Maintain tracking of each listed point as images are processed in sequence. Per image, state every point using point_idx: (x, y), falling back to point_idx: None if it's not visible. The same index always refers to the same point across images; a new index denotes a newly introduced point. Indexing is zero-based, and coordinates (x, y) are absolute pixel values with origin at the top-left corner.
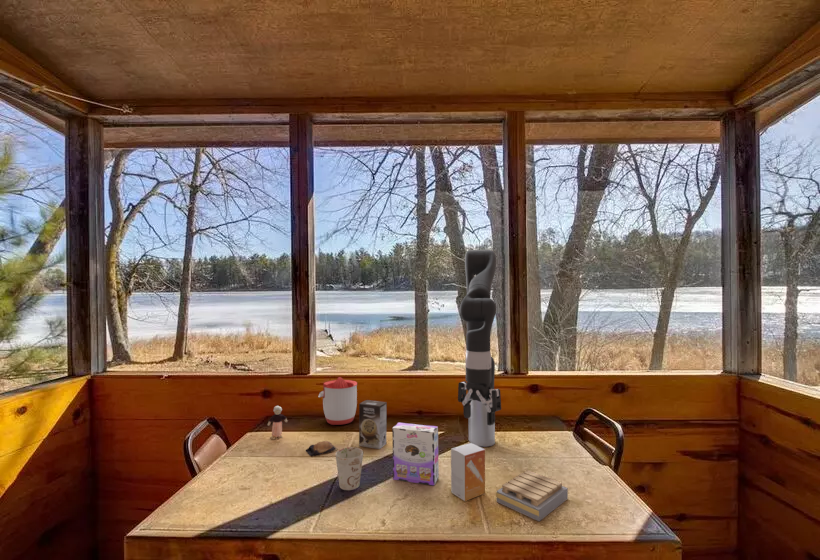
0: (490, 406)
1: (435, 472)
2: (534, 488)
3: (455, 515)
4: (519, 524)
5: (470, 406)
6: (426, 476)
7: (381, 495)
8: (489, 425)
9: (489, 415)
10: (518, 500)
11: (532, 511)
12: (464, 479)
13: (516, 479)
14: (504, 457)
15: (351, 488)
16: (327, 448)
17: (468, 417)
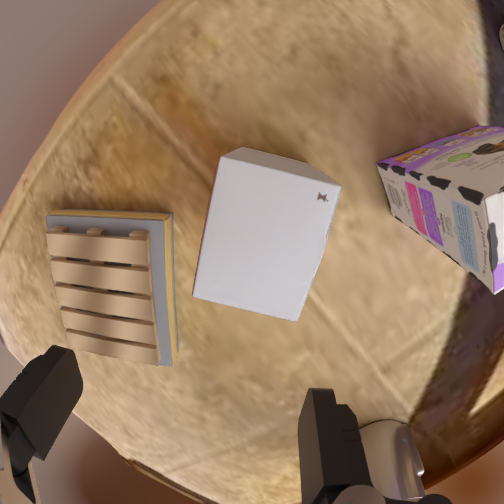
0: (31, 486)
1: (392, 181)
2: (82, 283)
3: (219, 70)
4: (81, 164)
5: (303, 500)
6: (408, 155)
7: (443, 36)
8: (59, 347)
9: (16, 398)
10: (94, 218)
11: (64, 211)
12: (236, 149)
13: (140, 300)
14: (295, 418)
15: (501, 27)
16: None
17: (304, 406)
